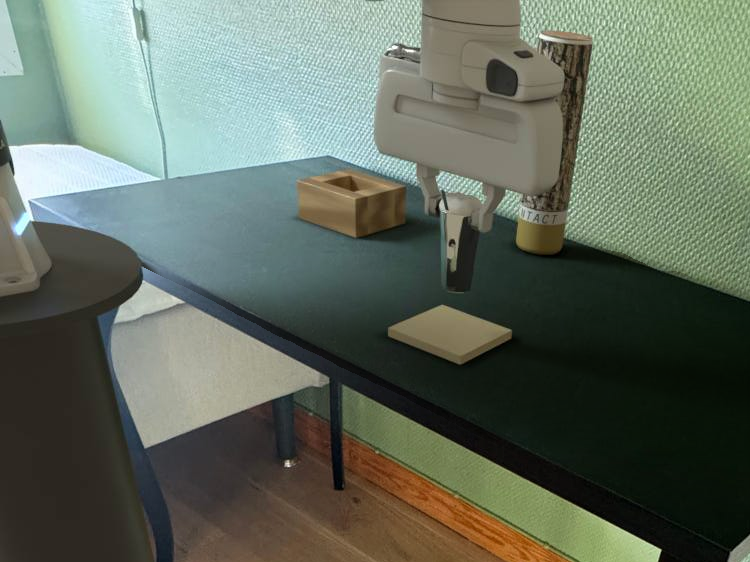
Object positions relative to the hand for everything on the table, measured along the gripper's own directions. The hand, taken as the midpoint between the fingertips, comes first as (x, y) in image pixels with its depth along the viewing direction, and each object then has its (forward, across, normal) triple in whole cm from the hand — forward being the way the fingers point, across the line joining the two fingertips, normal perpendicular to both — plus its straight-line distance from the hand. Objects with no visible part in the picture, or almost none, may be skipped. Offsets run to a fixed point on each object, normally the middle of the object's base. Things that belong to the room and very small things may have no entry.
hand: (457, 223), depth 82 cm
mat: (+12, 0, 0) cm, 12 cm away
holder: (+12, -35, +23) cm, 44 cm away
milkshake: (+7, 0, 0) cm, 7 cm away
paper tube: (+12, -10, +35) cm, 38 cm away
